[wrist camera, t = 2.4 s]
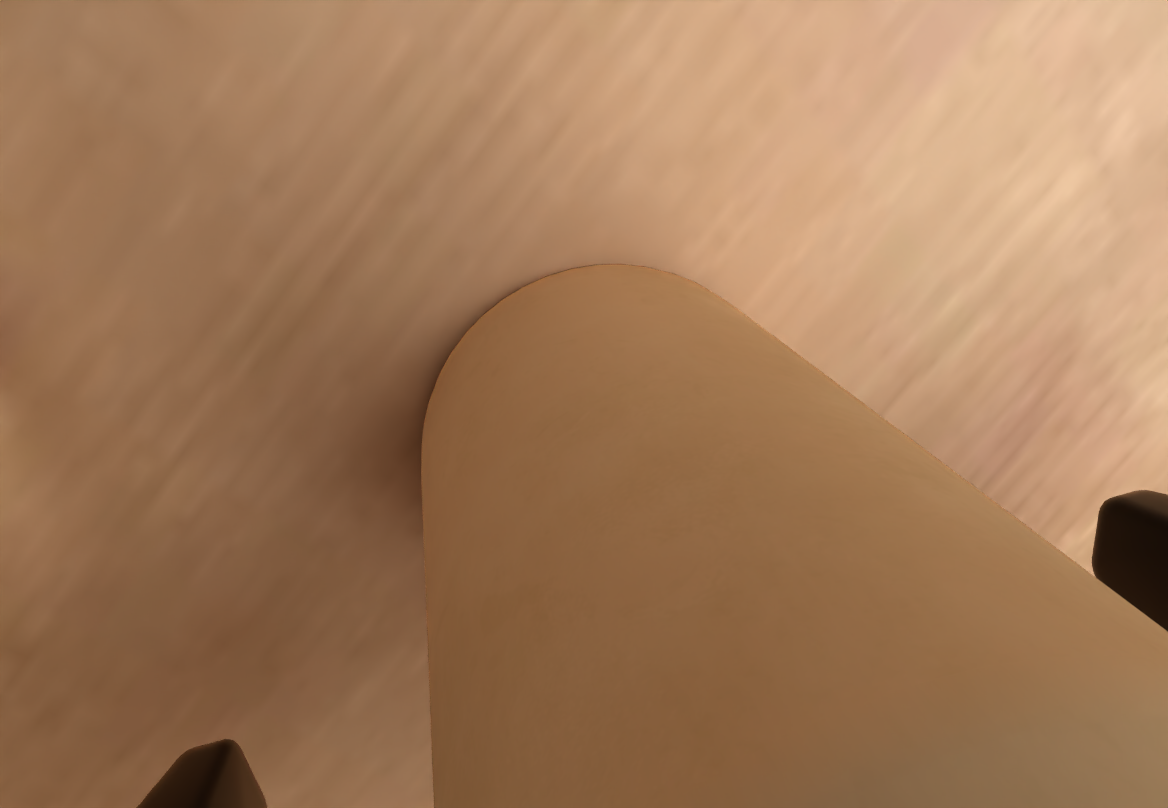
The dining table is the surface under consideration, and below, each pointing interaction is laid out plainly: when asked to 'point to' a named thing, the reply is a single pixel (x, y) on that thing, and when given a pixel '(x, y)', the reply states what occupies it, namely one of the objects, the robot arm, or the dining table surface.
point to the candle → (744, 585)
